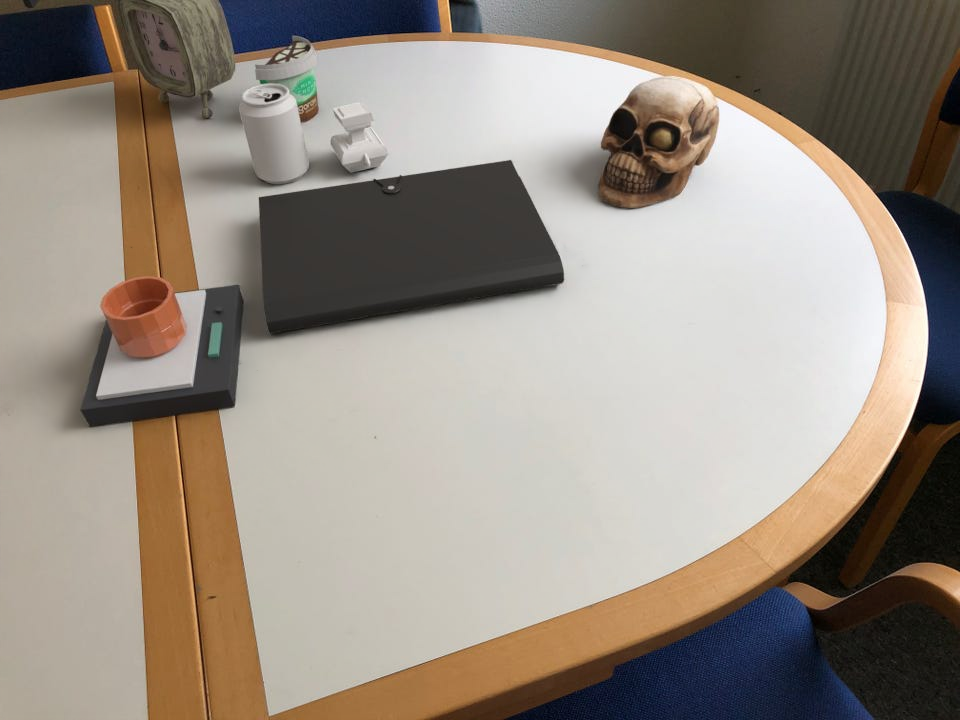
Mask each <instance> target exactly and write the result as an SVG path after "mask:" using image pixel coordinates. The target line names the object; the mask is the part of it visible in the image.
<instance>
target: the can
mask: <svg viewBox="0 0 960 720" xmlns="http://www.w3.org/2000/svg"><path fill="white" fill-rule="evenodd" d="M240 98H241V102H240V103H239V107H238V110H239V113H240V119H241V122H242V126H243V129H244V134H245V137H246V142H247V145H248V149H249V152H250V153H249V154H250V157H251V161H252V164H253V165H252V166H253V169H254V173H255V175H256V176H257V178H259V179H260V180H263V181H265V182H266V183H269V184H272V185H286V184H290V183H293V182H295V181H298V180H299V179H301V178H302V177H303V176H304V175H305V174H306V172H307V170H308V169H309V168H310V161H309V157H308V151H307V147H306V141H305V136H304V132H303V127H302V123H301V122H300V117H299V112H298V107H297V102H296V99H295V98H294V96H292V95H291V94H289V89H288V88H287V87H285V86H284V85H280V84H272V83H269V84H257V85H254V86H251V87H249V88H247V89H245V90H244V91H243V92H242V93H241V97H240Z"/></svg>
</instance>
